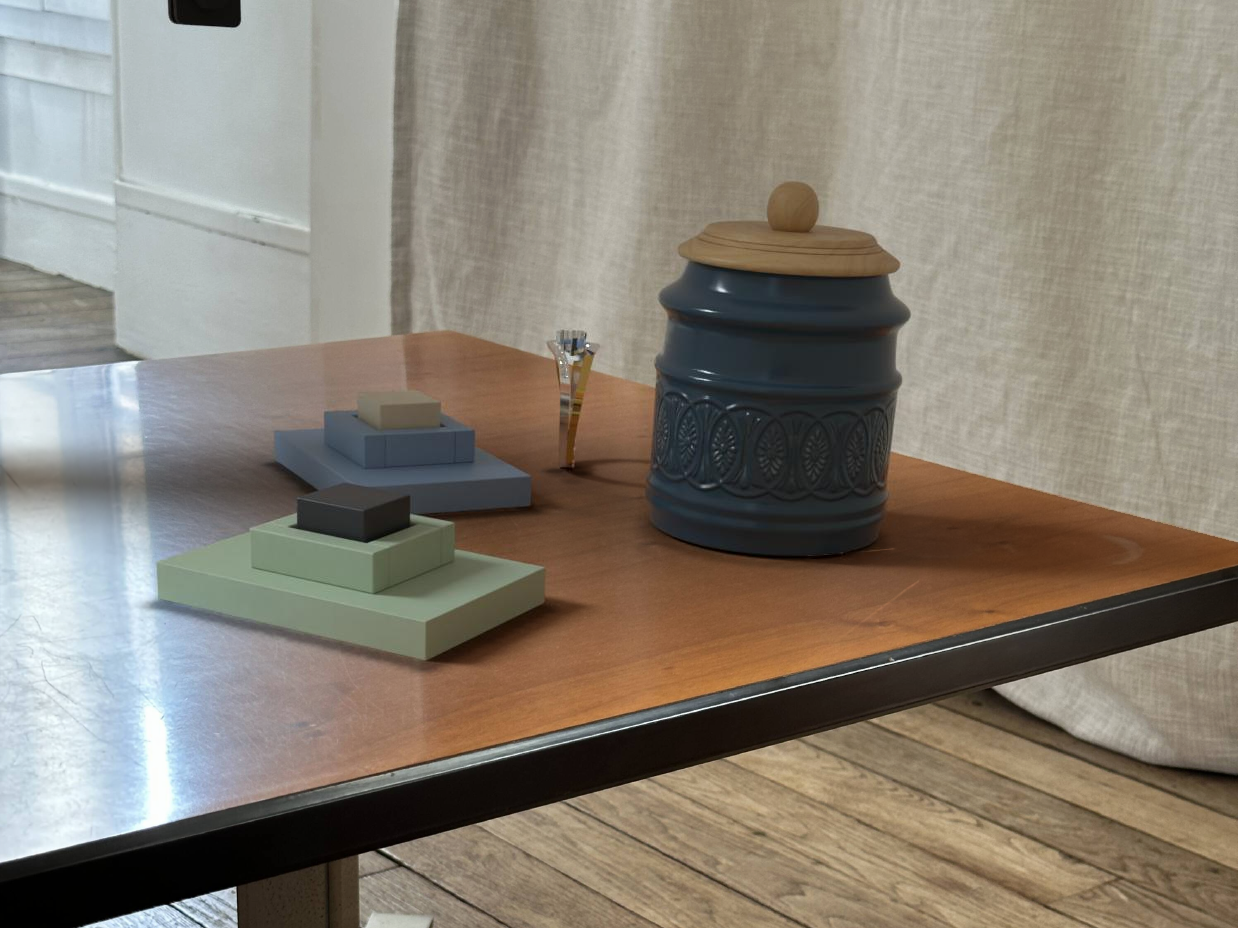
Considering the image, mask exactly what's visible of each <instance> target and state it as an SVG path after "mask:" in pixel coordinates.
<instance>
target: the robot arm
mask: <svg viewBox="0 0 1238 928" xmlns="http://www.w3.org/2000/svg"><path fill="white" fill-rule="evenodd" d="M241 1H242V0H167V15H168V19H169V21H170V22H171V23H172V24H175V25H182V26H195V27H212V28H213V27H214V28H215V27H216V28H230V29H235V28H238V27H239V26H240V25H241V23H242V2H241Z"/></svg>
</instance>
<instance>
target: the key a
mask: <svg viewBox="0 0 1238 928" xmlns="http://www.w3.org/2000/svg"><path fill="white" fill-rule="evenodd" d="M296 513H297V529H299V530H304V531H309V532H314V533H319V534H323V535H328V536H333V537H338V538H343V539H348V540H353V541H358V542H363V543H369V542H372V541H374V540H377V539H380V538H383V537H385V536H388V535H391V534H393V533H396V532H399V531H401V530H404V529H407V528H410V495H408V494H403V493H398V492H392V491H387V490H382V489H377V488H371V487H366V486H361V485H355V484H350V483H345V482H344V483H341V484H338V485H335V486H331V487H328V488H325V489H322V490H316V491H313V492H309V493H306V494H303V495H299V496H297V497H296Z"/></svg>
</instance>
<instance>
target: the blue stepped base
mask: <svg viewBox="0 0 1238 928" xmlns="http://www.w3.org/2000/svg"><path fill="white" fill-rule="evenodd" d="M273 443H274V460H275V461H276V462H277V463H279V464H280V465H282V466H284V467H285V468H286V469H288V470H289V471H290V472H292V473H293V474H295V475H296V476H297V477H299V478H300V479H301V480H303V481H305V482H306V483H307V484H308V485H310V486H312V487H313V488H314V489H316V491H319V490H322V489H325V488H328V487H331V486H335V485H338V484H341V483H344V482H345V483H350V484H355V485H361V486H366V487H371V488H377V489H382V490H387V491H392V492H398V493H403V494H408V495H410V514H413V515H418V516H420V515H430V514H432V515H433V514H444V513H445V514H446V513H458V512H459V513H460V512H472V511H485V510H486V511H487V510H499V509H500V510H501V509H513V508H527V507H531V503H532V502H531V501H532V478H533V477H532V476H531V475H530V474H528V473H526V472H524V471H522V470H521V469H519V468H517V467H515V466H513V465H511V464H510V463H508V462H506V461H504V460H502V459H500V458H498V457H496V456H494V455H493V454H491V453H489V452H488V451H485V450H484V449H481V448H480V447H478V446H476V430H475V429H473V428H472V427H470V426H468V425H466V424H464V423H462V422H460V421H458V420H456V419H454V418H452V417H450V416H449V415H448V414H444V413H443V412H441V426H440V427H431V428H411V429H390V430H376V429H374V428H373V427H371V426H369V425H367V424H366V423H364V422H362V421H360V420H359V419H358V409H350V410H328V411H325V410H324V411H323V428H308V429H305V428H304V429H287V430H284V429H283V430H275V431H274V432H273Z"/></svg>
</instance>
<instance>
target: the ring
mask: <svg viewBox="0 0 1238 928" xmlns="http://www.w3.org/2000/svg"><path fill="white" fill-rule="evenodd" d="M555 333H556V335H555V339H552V340H546V341H545V343H546V345H547V349H548V350H549V351H550V352H551V354H552V356H553V357H554V360H555V368H556V374H557V375H556V376H557V380H558V387H559V427H558V428H559V429H558V430H559V432H558V458H559V459H558V463H559V468H560V469H573V470H574V469H575V465H576V461H575V459H576V453H577V452H576V451H577V440H578V425H579V421H580V416H581V411H582V407H583V404H584V399H585V395H586V390H587V385H588V381H589V376H590V373H591V369H592V366H593V362H594V358H595V355H596V354H597V353H598V351H599V350H600V348H601V344H600V343H599V342H591V341H587V336H588V333H587V331H585V330H573V329H572V330H571V331H570V330H565V329H560V330H556V332H555ZM569 361H572V368H571V374H570V365H569Z"/></svg>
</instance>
